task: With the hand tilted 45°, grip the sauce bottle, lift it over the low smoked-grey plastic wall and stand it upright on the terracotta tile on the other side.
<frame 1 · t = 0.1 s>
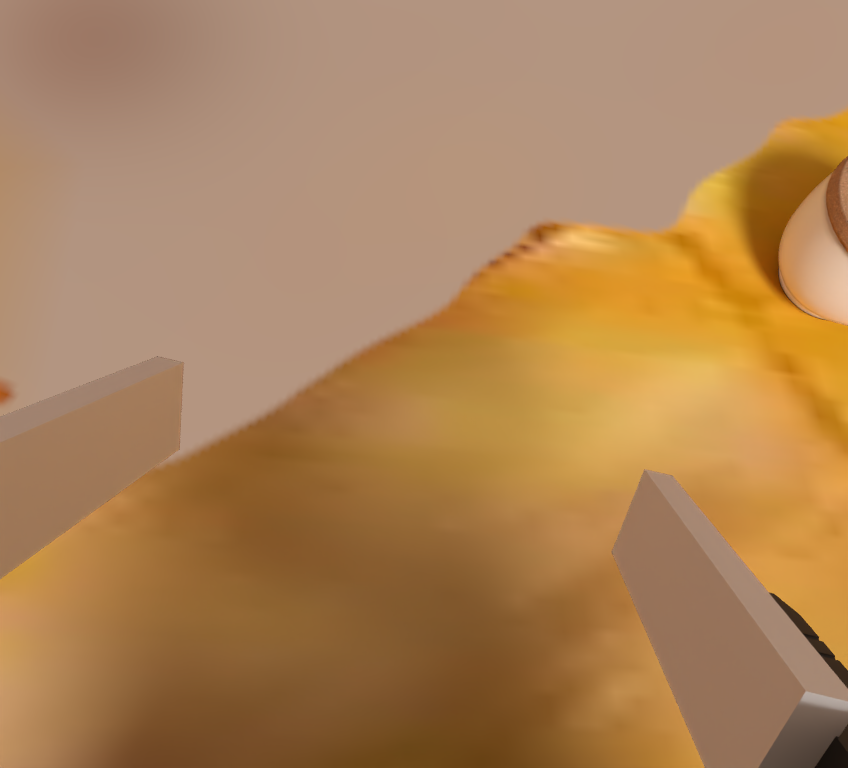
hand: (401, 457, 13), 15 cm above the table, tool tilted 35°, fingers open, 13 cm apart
lidded jar: (818, 282, 34), on the table
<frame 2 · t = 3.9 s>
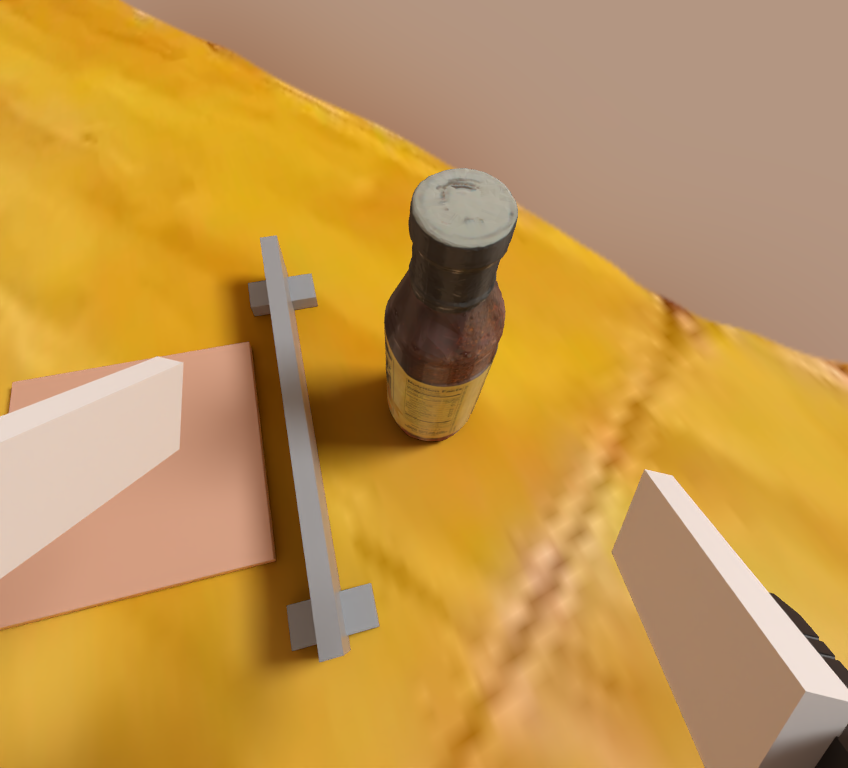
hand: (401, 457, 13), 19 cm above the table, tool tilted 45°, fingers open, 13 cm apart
sauce bottle: (427, 409, 36), on the table
terracotta tile: (140, 468, 32), on the table
grey wall: (305, 434, 34), on the table
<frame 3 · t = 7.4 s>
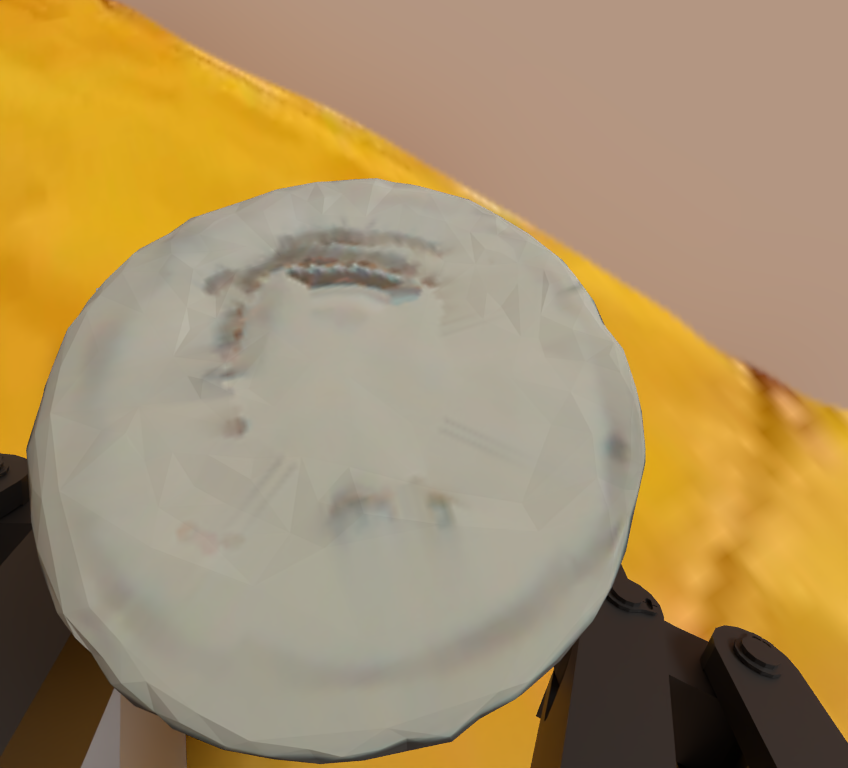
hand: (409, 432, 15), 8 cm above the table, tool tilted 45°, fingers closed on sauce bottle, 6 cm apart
sauce bottle: (382, 575, 21), on the table, touching gripper
grey wall: (166, 633, 19), on the table
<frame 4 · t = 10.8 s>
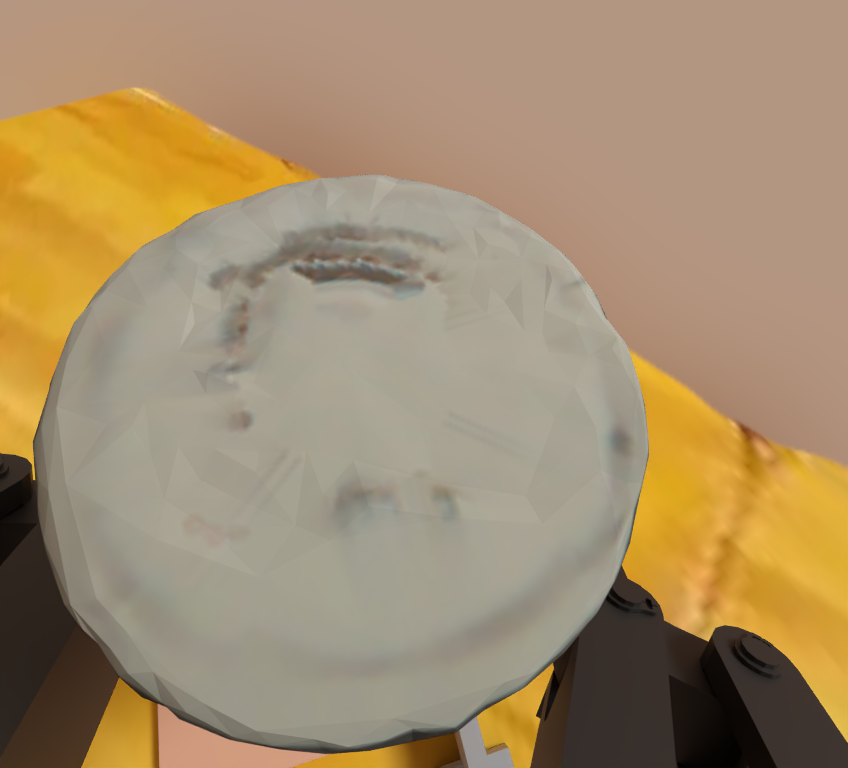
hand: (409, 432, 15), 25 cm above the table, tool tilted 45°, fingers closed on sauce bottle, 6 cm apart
sauce bottle: (383, 574, 21), point 16 cm above the table, touching gripper
terracotta tile: (279, 629, 34), on the table
grey wall: (425, 586, 36), on the table
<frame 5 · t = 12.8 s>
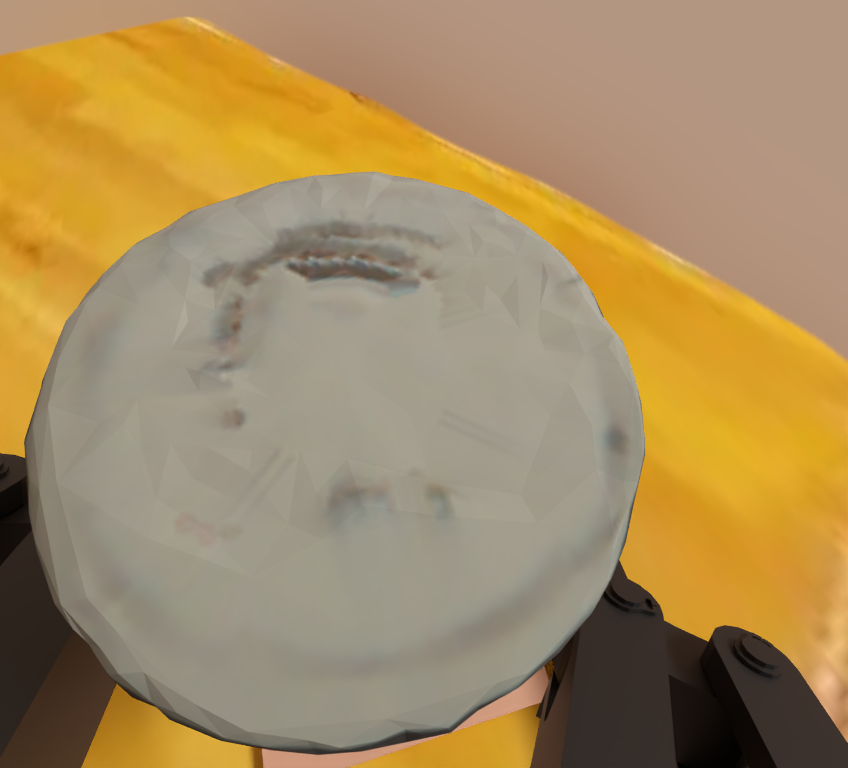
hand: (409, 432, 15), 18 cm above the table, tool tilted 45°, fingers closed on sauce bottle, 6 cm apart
sauce bottle: (383, 574, 21), point 10 cm above the table, touching gripper
terracotta tile: (385, 588, 30), on the table
when the fingers open (10 cm above the table, at t = 14.5 s): sauce bottle drops 1 cm, resting on terracotta tile.
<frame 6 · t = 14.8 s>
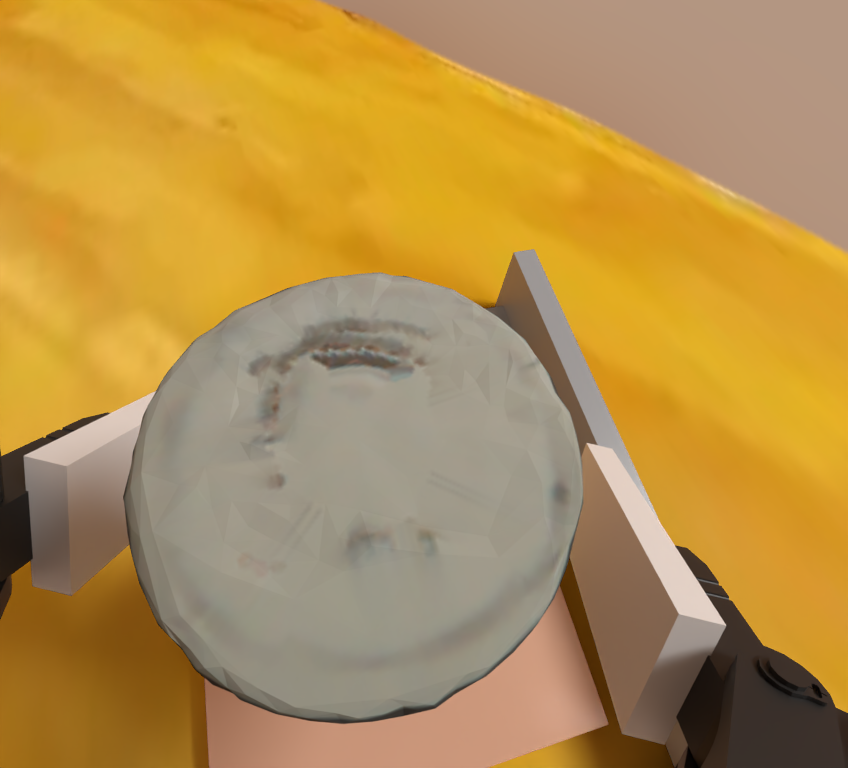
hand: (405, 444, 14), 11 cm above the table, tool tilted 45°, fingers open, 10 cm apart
sauce bottle: (387, 580, 22), point 1 cm above the table, touching terracotta tile
terracotta tile: (382, 578, 23), on the table
grey wall: (590, 522, 25), on the table
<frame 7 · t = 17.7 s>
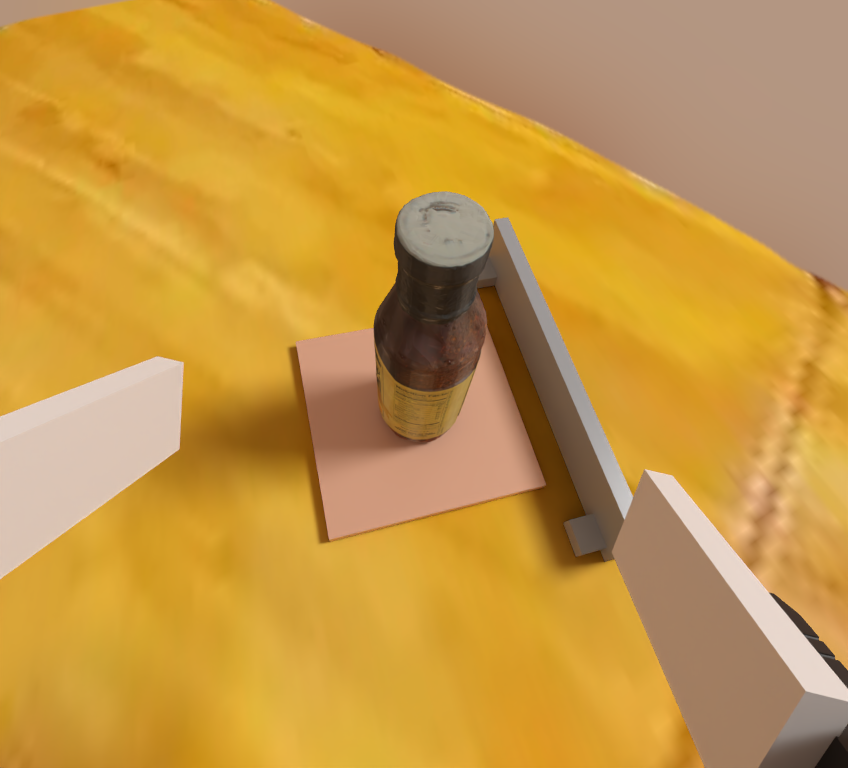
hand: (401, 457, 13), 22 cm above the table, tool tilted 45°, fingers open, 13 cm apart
sauce bottle: (417, 412, 37), point 1 cm above the table, touching terracotta tile
terracotta tile: (414, 413, 38), on the table
grey wall: (542, 386, 40), on the table
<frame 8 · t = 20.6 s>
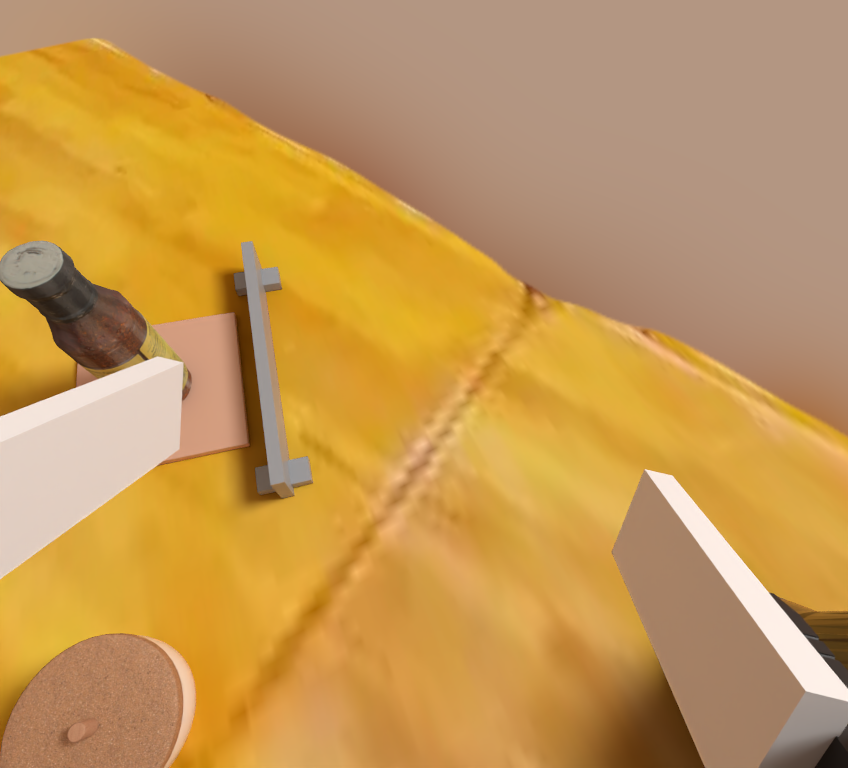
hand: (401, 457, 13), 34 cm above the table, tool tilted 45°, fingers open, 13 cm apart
lidded jar: (146, 707, 38), on the table
sauce bottle: (162, 390, 49), point 1 cm above the table, touching terracotta tile
terracotta tile: (163, 391, 50), on the table
grey wall: (271, 371, 52), on the table
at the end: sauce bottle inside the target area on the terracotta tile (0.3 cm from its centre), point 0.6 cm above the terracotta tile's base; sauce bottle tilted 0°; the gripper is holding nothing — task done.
